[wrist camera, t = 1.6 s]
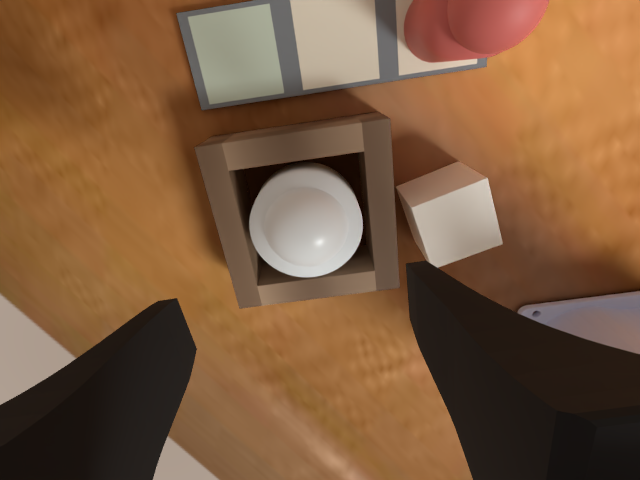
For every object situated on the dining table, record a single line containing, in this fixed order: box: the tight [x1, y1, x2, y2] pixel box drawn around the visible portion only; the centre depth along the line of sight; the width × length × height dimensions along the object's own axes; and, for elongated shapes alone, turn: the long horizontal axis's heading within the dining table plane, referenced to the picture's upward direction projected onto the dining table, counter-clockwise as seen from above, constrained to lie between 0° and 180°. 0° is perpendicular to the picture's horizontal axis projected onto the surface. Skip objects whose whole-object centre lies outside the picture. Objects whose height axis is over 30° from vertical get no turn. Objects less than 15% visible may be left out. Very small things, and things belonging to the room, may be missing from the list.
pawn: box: [404, 0, 549, 63], centre depth 13 cm, size 3×3×7 cm
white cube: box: [396, 161, 503, 268], centre depth 18 cm, size 4×4×4 cm
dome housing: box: [194, 112, 400, 308], centre depth 18 cm, size 8×8×3 cm
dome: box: [249, 162, 363, 277], centre depth 17 cm, size 5×5×4 cm
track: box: [176, 0, 487, 110], centre depth 16 cm, size 14×4×1 cm, turn 98°
